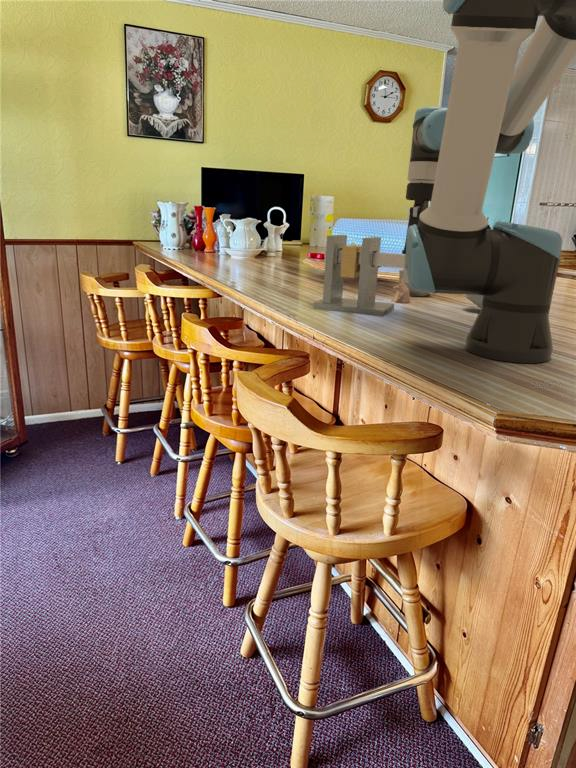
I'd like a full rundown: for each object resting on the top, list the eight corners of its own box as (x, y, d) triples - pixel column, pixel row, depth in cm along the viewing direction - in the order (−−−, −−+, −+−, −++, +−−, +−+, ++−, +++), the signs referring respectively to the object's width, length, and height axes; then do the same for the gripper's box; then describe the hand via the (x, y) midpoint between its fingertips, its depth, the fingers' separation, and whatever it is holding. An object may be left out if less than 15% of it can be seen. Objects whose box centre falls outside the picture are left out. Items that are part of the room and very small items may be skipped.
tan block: (353, 278, 134) (356, 247, 131) (340, 276, 135) (342, 246, 132) (362, 275, 140) (364, 245, 138) (349, 273, 141) (351, 244, 139)
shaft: (420, 271, 128) (422, 254, 127) (323, 263, 137) (324, 247, 136) (423, 270, 132) (425, 253, 131) (328, 262, 141) (329, 246, 140)
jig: (382, 316, 131) (390, 240, 125) (313, 308, 137) (318, 235, 132) (393, 309, 141) (401, 238, 136) (329, 301, 148) (333, 234, 142)
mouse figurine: (421, 305, 151) (424, 280, 149) (393, 303, 151) (395, 279, 149) (416, 301, 156) (419, 278, 154) (389, 300, 156) (391, 277, 154)
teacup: (426, 299, 160) (430, 272, 158) (391, 295, 165) (394, 268, 163) (439, 294, 172) (442, 268, 169) (406, 290, 177) (409, 265, 174)
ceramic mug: (488, 319, 142) (511, 299, 138) (464, 302, 141) (486, 281, 136) (487, 299, 150) (508, 280, 145) (465, 283, 149) (485, 263, 144)
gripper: (432, 180, 114) (419, 287, 121) (447, 185, 133) (435, 277, 140) (397, 179, 116) (386, 284, 123) (416, 184, 136) (406, 275, 143)
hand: (412, 280), depth 132 cm, fingers open, 9 cm apart
